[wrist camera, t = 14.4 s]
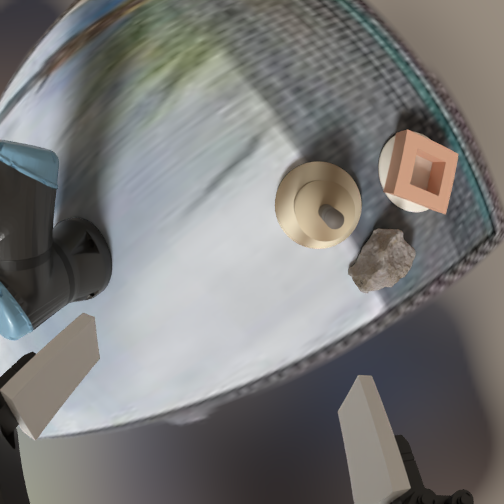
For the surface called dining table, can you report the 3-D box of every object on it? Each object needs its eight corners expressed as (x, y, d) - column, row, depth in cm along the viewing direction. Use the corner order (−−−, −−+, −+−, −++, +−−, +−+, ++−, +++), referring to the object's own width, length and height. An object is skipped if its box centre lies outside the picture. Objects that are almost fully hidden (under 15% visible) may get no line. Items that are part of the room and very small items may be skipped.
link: (383, 191, 36) (393, 194, 32) (396, 132, 33) (407, 129, 29) (432, 210, 35) (445, 214, 31) (444, 154, 33) (458, 154, 29)
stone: (414, 252, 38) (430, 265, 32) (370, 296, 41) (381, 314, 35) (383, 216, 37) (398, 224, 32) (337, 264, 40) (345, 279, 34)
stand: (266, 235, 40) (258, 263, 27) (286, 152, 36) (288, 141, 24) (345, 255, 39) (370, 291, 27) (368, 175, 36) (405, 178, 23)
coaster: (369, 197, 37) (370, 198, 36) (386, 120, 33) (388, 119, 33) (434, 221, 36) (436, 222, 36) (450, 149, 33) (452, 149, 32)
